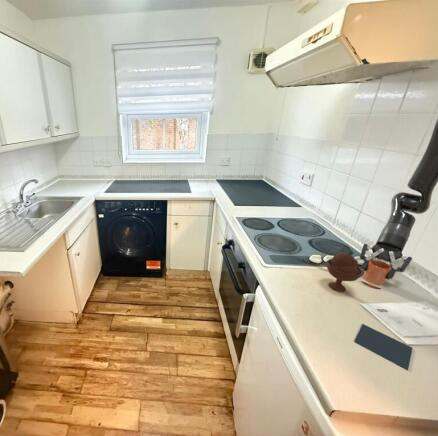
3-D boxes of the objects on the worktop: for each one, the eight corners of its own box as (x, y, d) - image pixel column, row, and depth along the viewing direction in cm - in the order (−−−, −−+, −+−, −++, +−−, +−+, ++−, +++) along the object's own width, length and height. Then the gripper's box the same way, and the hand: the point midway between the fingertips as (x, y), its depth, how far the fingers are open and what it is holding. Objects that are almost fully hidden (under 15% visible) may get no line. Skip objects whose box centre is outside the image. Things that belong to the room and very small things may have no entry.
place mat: (412, 348, 67) (412, 347, 67) (407, 370, 61) (408, 369, 61) (362, 324, 74) (362, 323, 74) (354, 341, 69) (354, 341, 69)
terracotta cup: (383, 284, 92) (392, 265, 89) (380, 291, 89) (389, 271, 85) (363, 277, 97) (371, 258, 93) (359, 283, 93) (367, 263, 90)
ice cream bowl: (354, 301, 84) (369, 265, 78) (316, 287, 91) (328, 253, 85) (356, 287, 91) (370, 253, 85) (321, 275, 98) (332, 243, 92)
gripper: (370, 227, 94) (352, 262, 92) (422, 240, 84) (404, 280, 82) (368, 235, 100) (351, 269, 97) (417, 248, 89) (400, 286, 87)
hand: (375, 274), depth 90 cm, fingers closed on terracotta cup, 6 cm apart
